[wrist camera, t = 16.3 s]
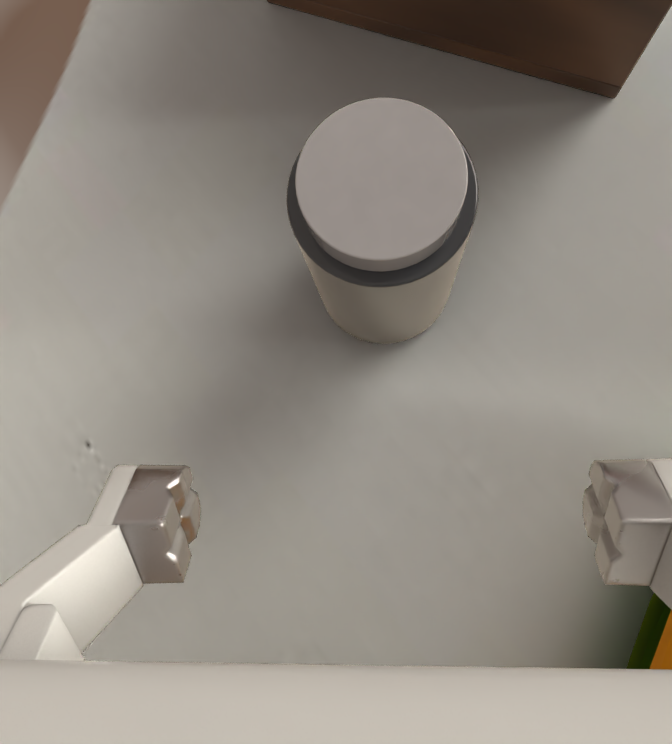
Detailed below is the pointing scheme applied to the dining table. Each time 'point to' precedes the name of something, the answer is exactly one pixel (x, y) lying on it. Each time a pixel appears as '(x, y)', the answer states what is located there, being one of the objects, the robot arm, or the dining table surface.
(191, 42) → the dining table surface
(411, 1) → the chest
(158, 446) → the dining table surface
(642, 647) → the corn
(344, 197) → the cylinder
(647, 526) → the robot arm
